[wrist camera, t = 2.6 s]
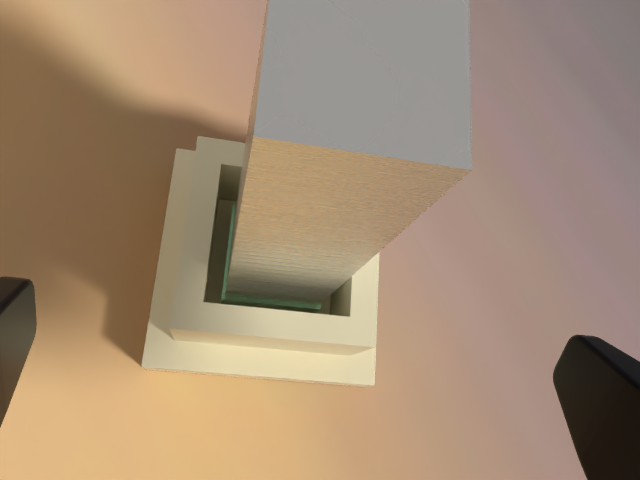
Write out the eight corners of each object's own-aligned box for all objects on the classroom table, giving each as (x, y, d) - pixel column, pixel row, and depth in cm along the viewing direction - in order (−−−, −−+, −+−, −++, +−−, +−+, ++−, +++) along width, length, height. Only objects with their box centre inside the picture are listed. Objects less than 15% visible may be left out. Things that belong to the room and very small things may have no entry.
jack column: (315, 314, 19) (478, 177, 8) (220, 304, 18) (244, 142, 7) (321, 225, 20) (475, -14, 8) (231, 214, 19) (268, -58, 8)
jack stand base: (362, 387, 20) (405, 382, 16) (146, 369, 19) (128, 359, 14) (370, 192, 22) (409, 142, 18) (178, 165, 21) (171, 104, 17)
